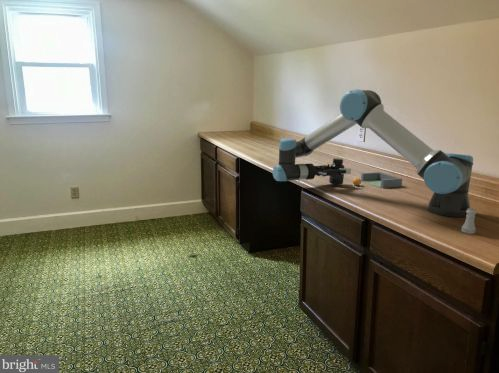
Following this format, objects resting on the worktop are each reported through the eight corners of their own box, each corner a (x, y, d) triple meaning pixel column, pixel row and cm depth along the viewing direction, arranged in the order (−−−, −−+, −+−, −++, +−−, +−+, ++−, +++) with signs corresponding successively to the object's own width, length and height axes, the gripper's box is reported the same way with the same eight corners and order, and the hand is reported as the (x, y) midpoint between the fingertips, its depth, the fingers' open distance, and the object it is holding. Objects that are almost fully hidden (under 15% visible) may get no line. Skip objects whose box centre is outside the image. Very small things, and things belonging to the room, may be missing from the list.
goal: (382, 188, 199) (383, 180, 198) (360, 180, 214) (361, 173, 213) (401, 186, 203) (402, 178, 202) (378, 179, 218) (379, 172, 217)
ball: (360, 186, 200) (360, 178, 199) (351, 185, 202) (352, 177, 201) (361, 185, 204) (362, 177, 203) (353, 184, 205) (353, 176, 205)
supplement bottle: (335, 185, 197) (337, 160, 194) (326, 182, 203) (327, 158, 200) (346, 183, 201) (348, 159, 198) (336, 181, 206) (338, 157, 204)
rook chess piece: (458, 229, 141) (461, 207, 139) (472, 230, 140) (475, 207, 139) (463, 233, 137) (467, 210, 135) (477, 234, 136) (481, 211, 134)
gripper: (294, 175, 203) (334, 173, 212) (315, 184, 185) (357, 181, 194) (295, 160, 201) (335, 158, 210) (316, 167, 184) (358, 165, 192)
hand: (345, 169), depth 202 cm, fingers closed on supplement bottle, 7 cm apart
